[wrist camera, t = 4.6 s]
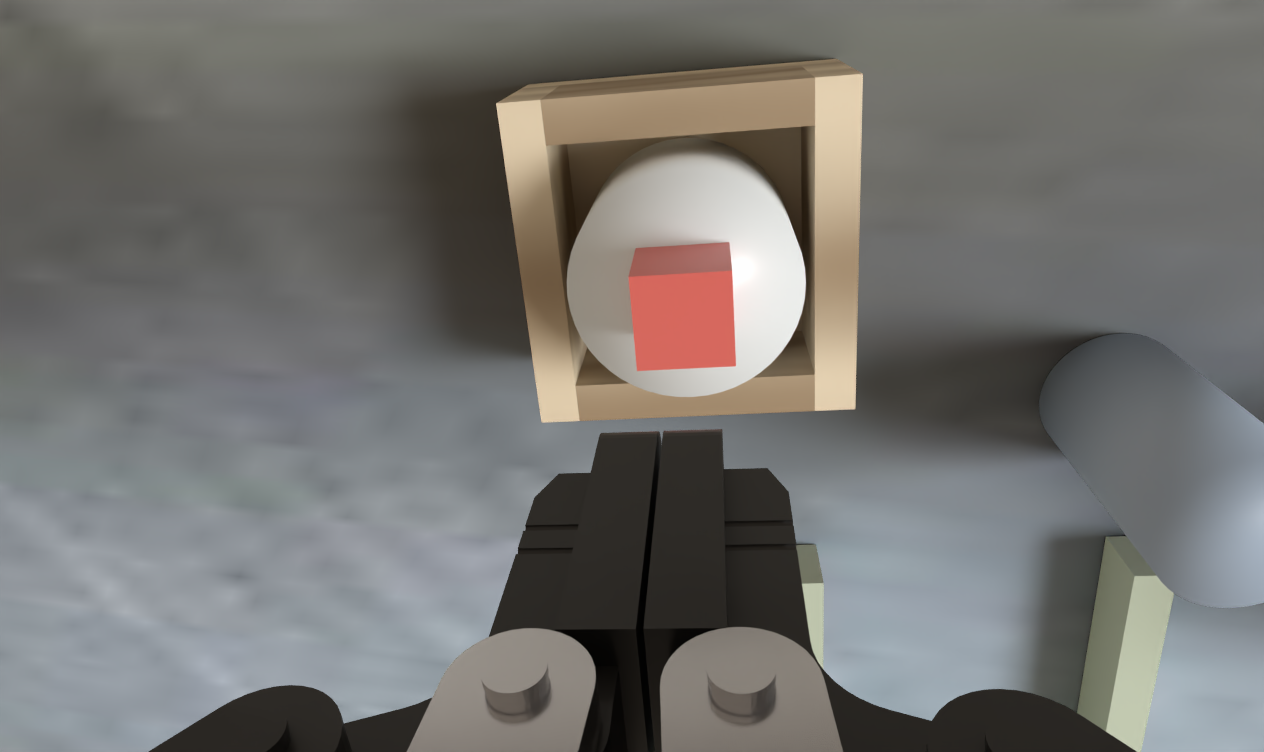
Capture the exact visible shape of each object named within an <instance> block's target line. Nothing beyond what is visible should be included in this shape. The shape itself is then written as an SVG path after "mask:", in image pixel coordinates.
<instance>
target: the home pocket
mask: <svg viewBox="0 0 1264 752" xmlns="http://www.w3.org/2000/svg"><path fill="white" fill-rule="evenodd" d="M796 550H797V553H798V560H799V567H800V574H801V580H802V587H803V594H804V601H805V608H806V614H807V621H808V628H809V635H810V642H811V645H812V649H813V653H814V655H815V657H816V659H817V661H818V663H819V664H820V665H821V667H822V668H823V592H824V583H823V578H822V573H821V568H820V563H819V558H818V553H817V548H816V545H796ZM1173 596H1174V593H1173V592H1172V591H1170V590H1169V589H1168V588H1167V587H1166V586H1165V585H1164V584H1163V583H1162V582H1161V581H1160V579H1159V578H1158V577H1157V576H1156V574H1155V573H1154V572H1153V570H1152V569H1151V568H1150V566H1149V565H1148V564H1147V562H1146V561H1145V560H1144V559H1143V557H1142V556H1141V555H1140V553H1139V552H1138V551H1137V549H1136V548H1135V547H1134V546H1133V544H1132V543H1131V542H1130V540H1129V539H1128V538H1127V536H1113V537H1106V539H1105V545H1104V551H1103V557H1102V563H1101V569H1100V575H1099V582H1098V588H1097V594H1096V600H1095V606H1094V612H1093V618H1092V624H1091V630H1090V636H1089V642H1088V649H1087V655H1086V661H1085V667H1084V673H1083V679H1082V685H1081V691H1080V697H1079V703H1078V709H1077V713H1078V714H1080V715H1081V716H1083V717H1084V718H1086V719H1087V720H1089V721H1091V722H1092V723H1094V724H1095V725H1097V726H1098V727H1100V728H1101V729H1103V730H1104V731H1106V732H1107V733H1109V734H1111V735H1112V736H1114V737H1115V738H1117V739H1118V740H1120V741H1121V742H1123V743H1124V744H1126V745H1127V746H1129V747H1130V748H1132V749H1134V750H1135V751H1137V752H1141V749H1142V744H1143V739H1144V734H1145V730H1146V725H1147V720H1148V715H1149V710H1150V706H1151V701H1152V696H1153V691H1154V687H1155V682H1156V677H1157V672H1158V667H1159V663H1160V658H1161V653H1162V648H1163V643H1164V639H1165V634H1166V629H1167V624H1168V620H1169V615H1170V610H1171V605H1172V600H1173Z"/></svg>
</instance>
